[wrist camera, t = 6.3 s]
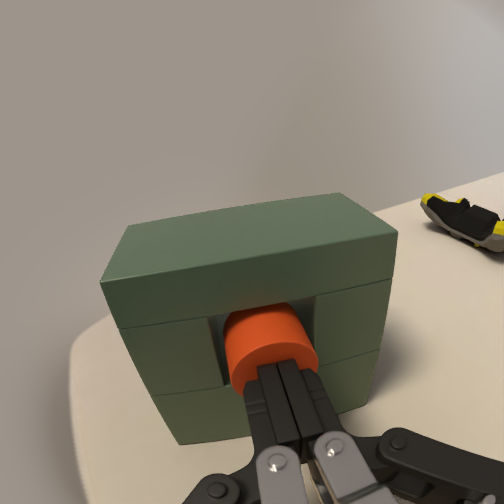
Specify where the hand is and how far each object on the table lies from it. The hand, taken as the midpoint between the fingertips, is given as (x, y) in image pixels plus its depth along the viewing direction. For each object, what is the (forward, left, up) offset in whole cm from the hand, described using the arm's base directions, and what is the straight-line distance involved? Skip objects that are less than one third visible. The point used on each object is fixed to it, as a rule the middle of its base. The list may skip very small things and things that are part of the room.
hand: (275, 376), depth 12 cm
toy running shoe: (+19, +32, -8) cm, 38 cm away
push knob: (-1, +1, -2) cm, 2 cm away
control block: (-2, +4, -8) cm, 9 cm away
